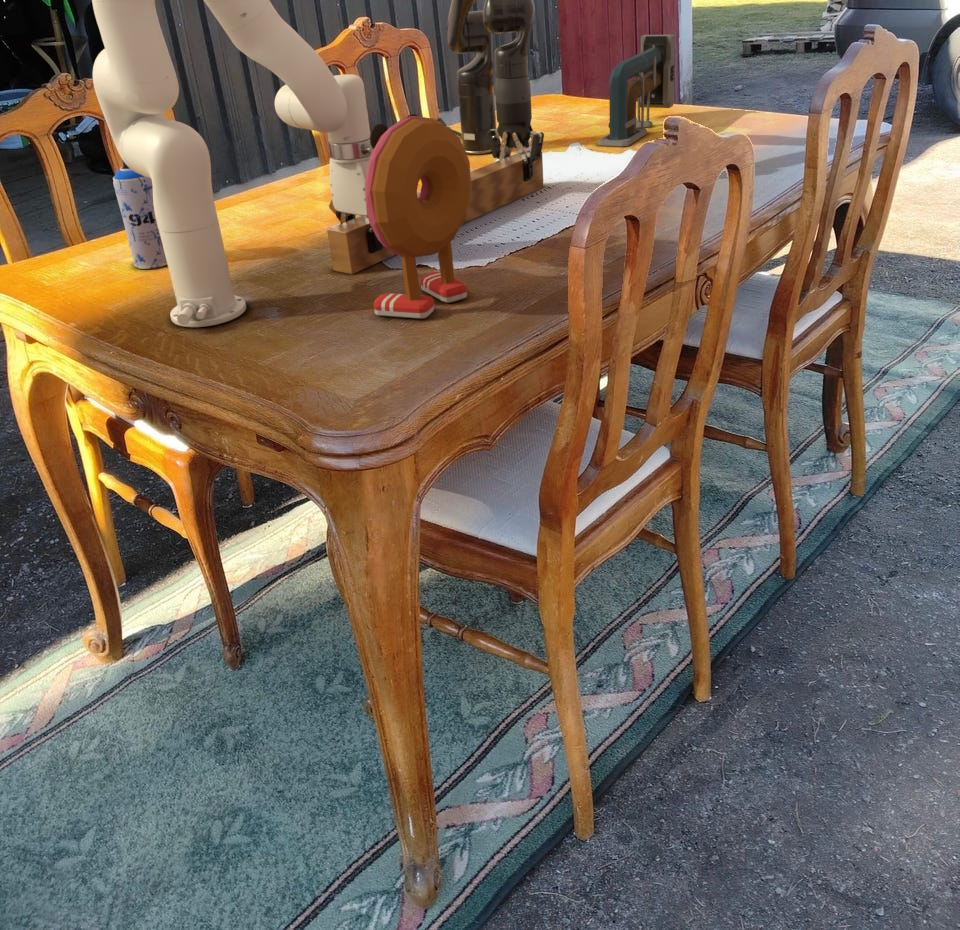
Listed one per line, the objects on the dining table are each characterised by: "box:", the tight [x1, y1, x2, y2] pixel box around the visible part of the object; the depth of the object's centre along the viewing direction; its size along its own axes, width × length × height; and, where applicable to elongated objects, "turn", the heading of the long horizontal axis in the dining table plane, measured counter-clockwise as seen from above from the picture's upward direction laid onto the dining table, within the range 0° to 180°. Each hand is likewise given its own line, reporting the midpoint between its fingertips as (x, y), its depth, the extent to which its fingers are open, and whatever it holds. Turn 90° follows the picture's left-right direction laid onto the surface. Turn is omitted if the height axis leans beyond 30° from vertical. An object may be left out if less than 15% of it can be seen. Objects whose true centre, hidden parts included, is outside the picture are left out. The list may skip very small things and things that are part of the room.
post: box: [326, 151, 544, 275], centre depth 197 cm, size 63×5×8 cm, turn 143°
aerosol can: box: [112, 159, 168, 270], centre depth 186 cm, size 8×8×20 cm
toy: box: [365, 113, 472, 319], centre depth 153 cm, size 21×10×30 cm, turn 141°
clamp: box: [596, 34, 676, 147], centre depth 254 cm, size 35×9×21 cm, turn 151°
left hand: (364, 248), depth 181 cm, fingers closed on post, 4 cm apart
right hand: (517, 178), depth 214 cm, fingers closed on post, 5 cm apart
